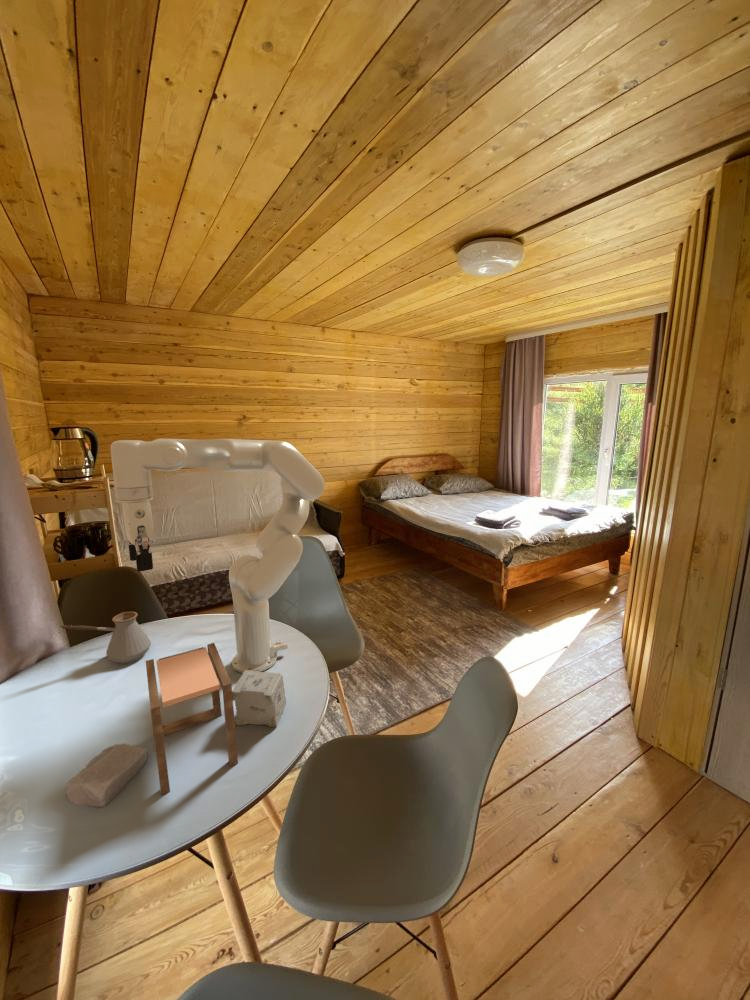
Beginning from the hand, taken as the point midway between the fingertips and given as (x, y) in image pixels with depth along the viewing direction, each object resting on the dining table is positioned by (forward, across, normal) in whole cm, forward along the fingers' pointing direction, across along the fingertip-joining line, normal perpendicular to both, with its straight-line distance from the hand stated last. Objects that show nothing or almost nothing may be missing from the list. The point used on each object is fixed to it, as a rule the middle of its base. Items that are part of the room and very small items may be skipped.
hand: (141, 564), depth 99 cm
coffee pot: (+36, +26, +7) cm, 44 cm away
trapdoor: (+20, -23, -3) cm, 30 cm away
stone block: (+36, -21, +12) cm, 43 cm away
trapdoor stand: (+35, -24, -3) cm, 43 cm away
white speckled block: (+35, -24, -18) cm, 46 cm away
